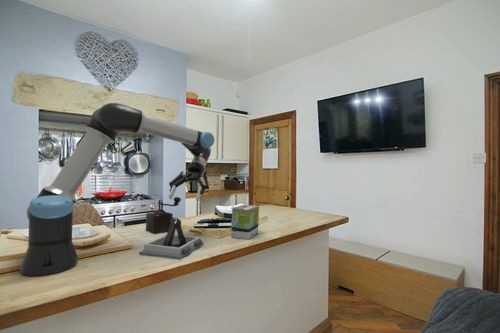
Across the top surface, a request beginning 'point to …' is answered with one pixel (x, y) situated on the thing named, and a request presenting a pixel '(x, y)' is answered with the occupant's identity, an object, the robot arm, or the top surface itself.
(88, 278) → the top surface
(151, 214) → the dark brown handled box
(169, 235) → the dark grey triangular stand
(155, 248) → the tray
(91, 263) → the top surface
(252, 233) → the tea box
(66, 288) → the top surface
